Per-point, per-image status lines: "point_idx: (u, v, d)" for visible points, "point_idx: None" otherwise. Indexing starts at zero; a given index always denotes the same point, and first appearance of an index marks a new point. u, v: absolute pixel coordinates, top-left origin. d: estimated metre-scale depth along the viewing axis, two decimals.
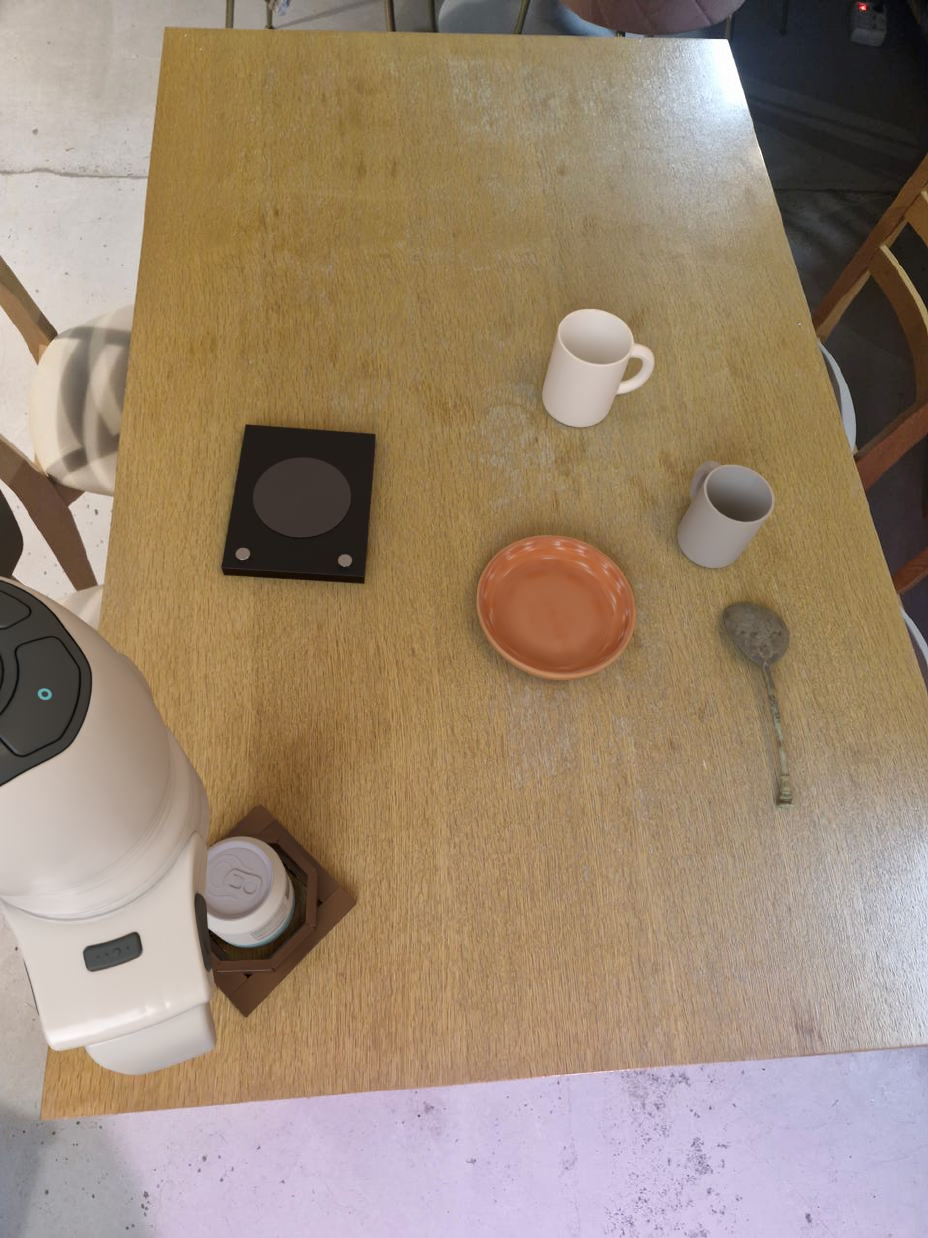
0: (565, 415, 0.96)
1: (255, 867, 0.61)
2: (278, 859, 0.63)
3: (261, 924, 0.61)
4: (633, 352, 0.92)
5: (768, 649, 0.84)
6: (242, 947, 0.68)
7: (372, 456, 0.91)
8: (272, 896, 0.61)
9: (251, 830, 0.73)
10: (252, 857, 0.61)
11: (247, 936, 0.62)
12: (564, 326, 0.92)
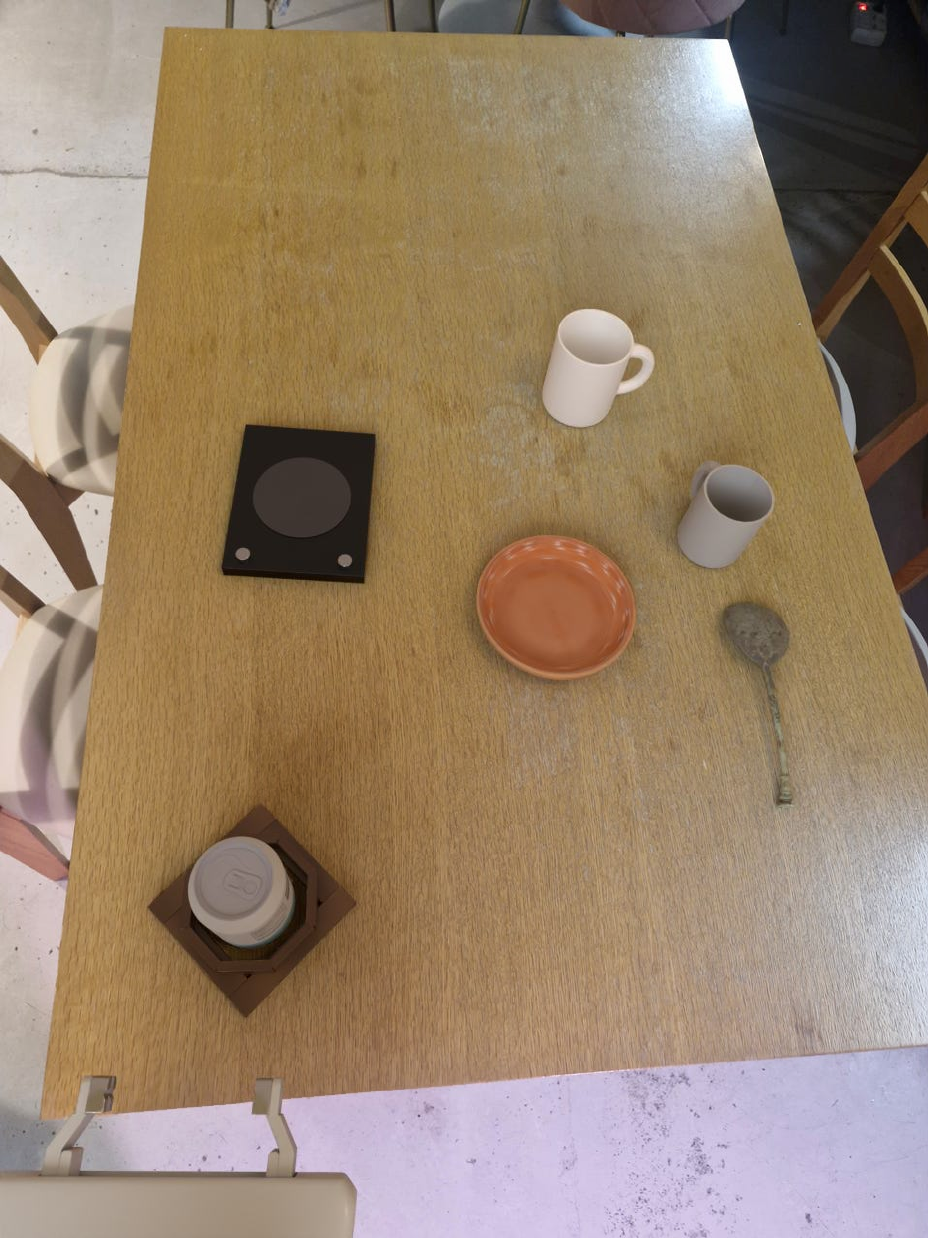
0: (565, 415, 0.96)
1: (255, 867, 0.61)
2: (278, 859, 0.63)
3: (261, 924, 0.61)
4: (633, 352, 0.92)
5: (768, 649, 0.84)
6: (242, 947, 0.68)
7: (372, 456, 0.91)
8: (272, 896, 0.61)
9: (251, 830, 0.73)
10: (252, 857, 0.61)
11: (247, 936, 0.62)
12: (564, 326, 0.92)
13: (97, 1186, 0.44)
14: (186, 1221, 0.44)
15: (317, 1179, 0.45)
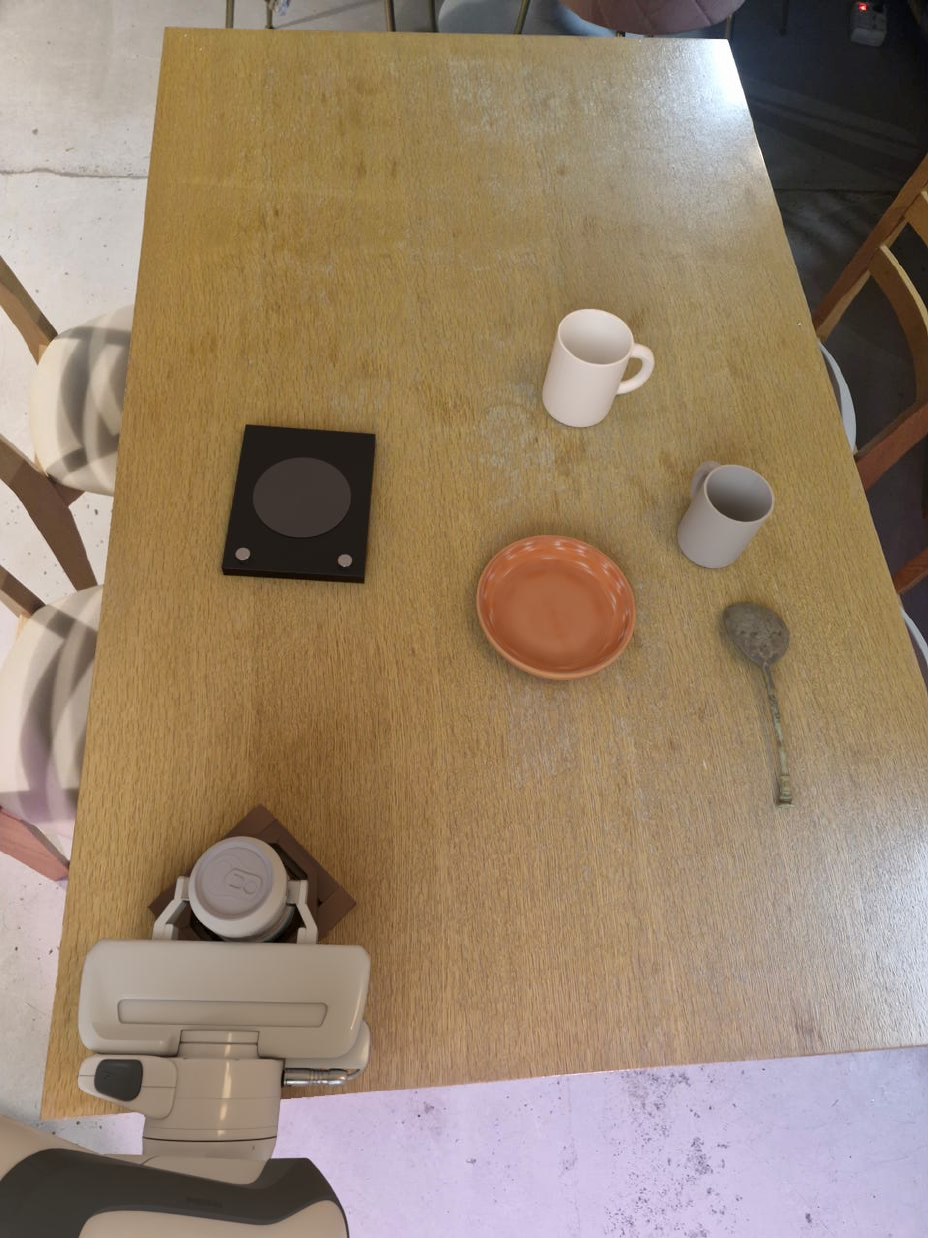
0: (565, 415, 0.96)
1: (255, 867, 0.61)
2: (278, 859, 0.63)
3: (261, 924, 0.61)
4: (633, 352, 0.92)
5: (768, 649, 0.84)
6: None
7: (372, 456, 0.91)
8: (272, 896, 0.61)
9: (251, 830, 0.73)
10: (252, 857, 0.61)
11: (247, 936, 0.62)
12: (564, 326, 0.92)
13: (183, 945, 0.61)
14: (248, 969, 0.60)
15: (342, 945, 0.62)
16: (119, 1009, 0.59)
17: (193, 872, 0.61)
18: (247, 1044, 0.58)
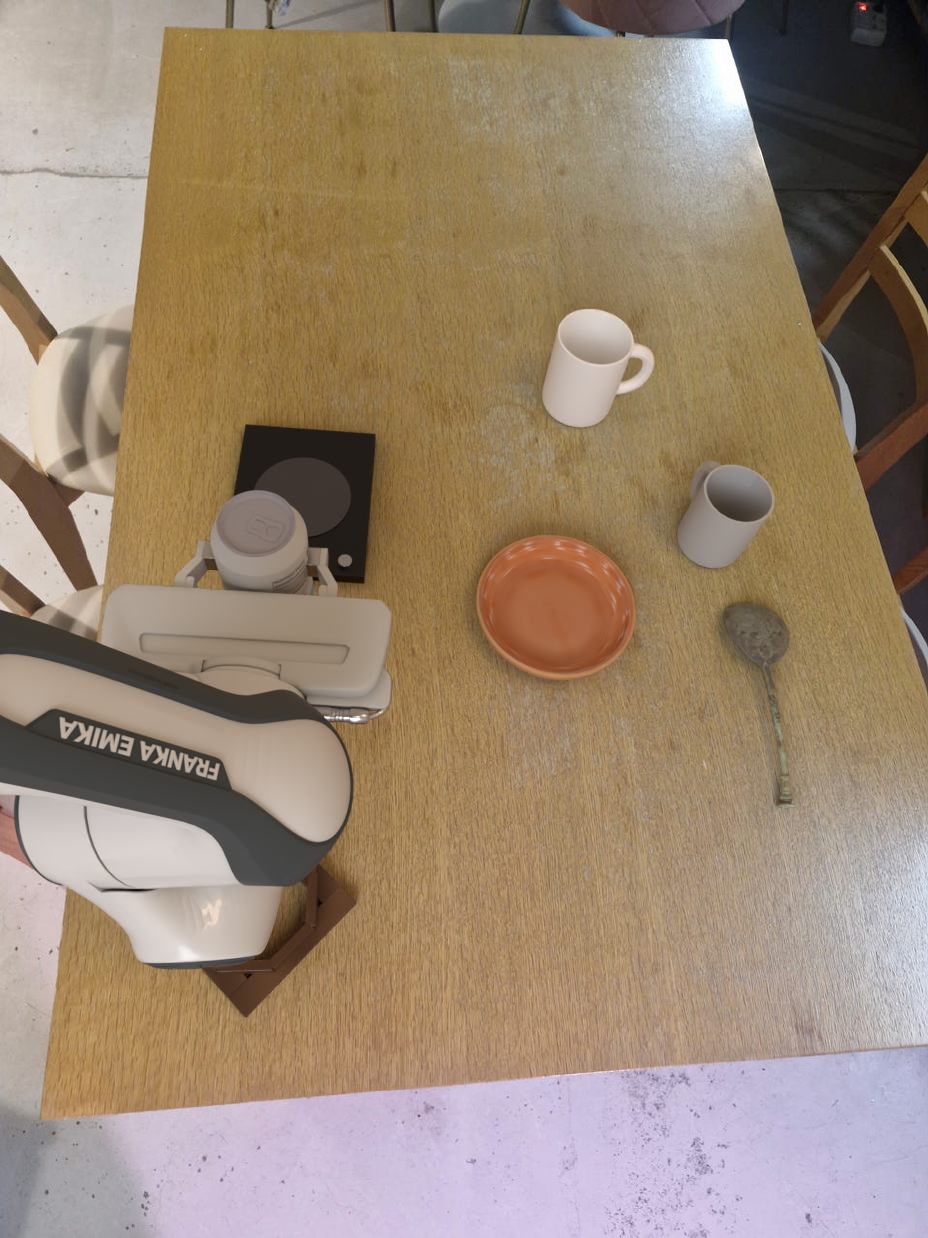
0: (565, 415, 0.96)
1: (277, 515, 0.61)
2: (300, 515, 0.63)
3: (283, 569, 0.61)
4: (633, 352, 0.92)
5: (768, 649, 0.84)
6: None
7: (372, 456, 0.91)
8: (294, 541, 0.61)
9: None
10: (274, 507, 0.61)
11: (268, 590, 0.62)
12: (564, 326, 0.92)
13: (205, 590, 0.61)
14: (270, 612, 0.60)
15: None
16: (141, 642, 0.59)
17: (215, 521, 0.61)
18: (269, 671, 0.58)
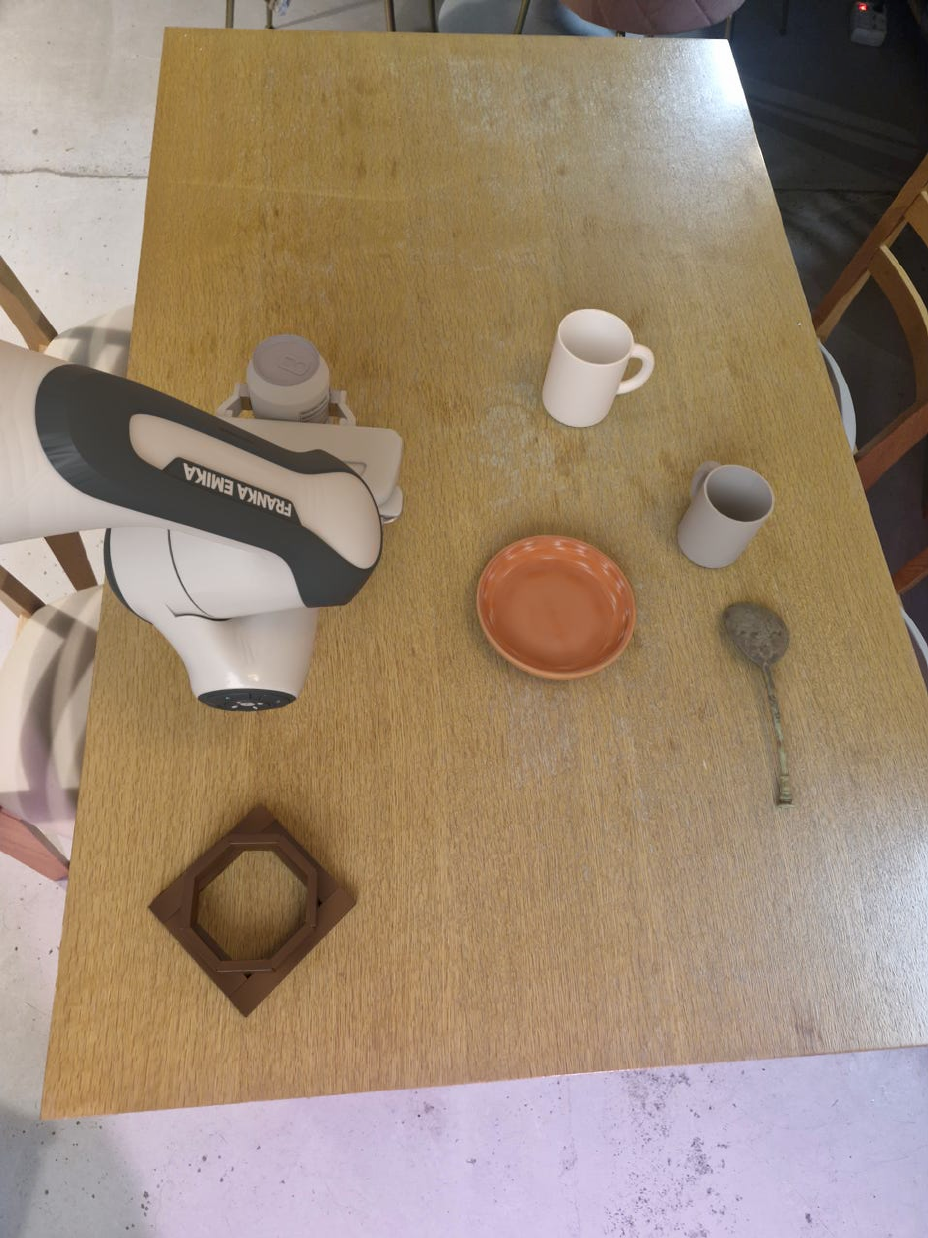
0: (565, 415, 0.96)
1: (304, 354, 0.71)
2: (322, 357, 0.73)
3: (309, 400, 0.71)
4: (633, 352, 0.92)
5: (768, 649, 0.84)
6: None
7: None
8: (319, 375, 0.71)
9: (251, 830, 0.73)
10: (301, 348, 0.72)
11: (296, 421, 0.72)
12: (564, 326, 0.92)
13: (242, 419, 0.71)
14: (298, 436, 0.71)
15: (378, 428, 0.72)
16: None
17: None
18: None
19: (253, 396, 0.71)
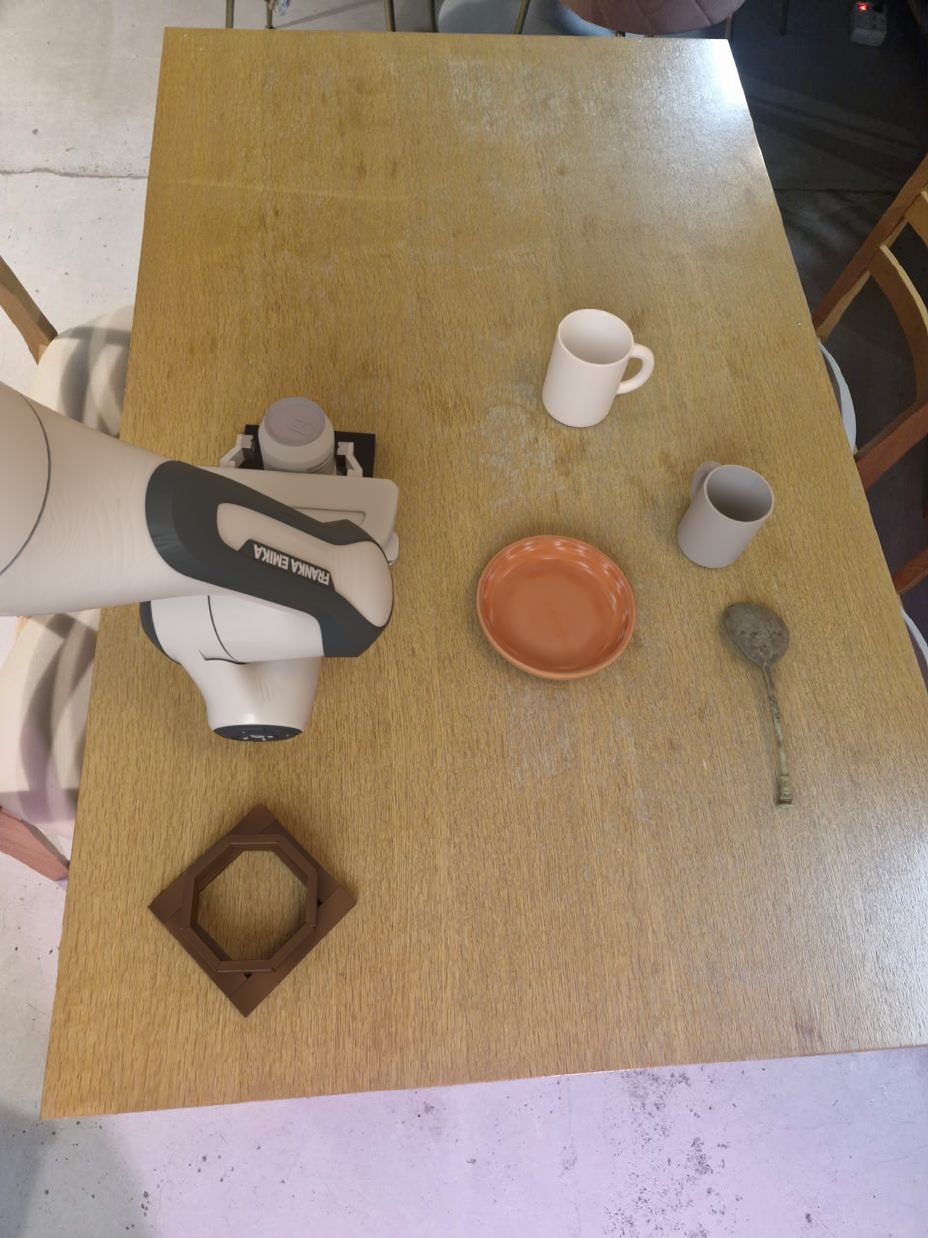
0: (565, 415, 0.96)
1: (311, 416, 0.78)
2: None
3: (316, 458, 0.78)
4: (633, 352, 0.92)
5: (768, 649, 0.84)
6: None
7: (372, 456, 0.91)
8: (324, 435, 0.78)
9: (251, 830, 0.73)
10: (308, 410, 0.78)
11: None
12: (564, 326, 0.92)
13: (252, 470, 0.77)
14: (303, 487, 0.77)
15: (376, 478, 0.79)
16: None
17: (262, 421, 0.78)
18: None
19: (264, 454, 0.78)
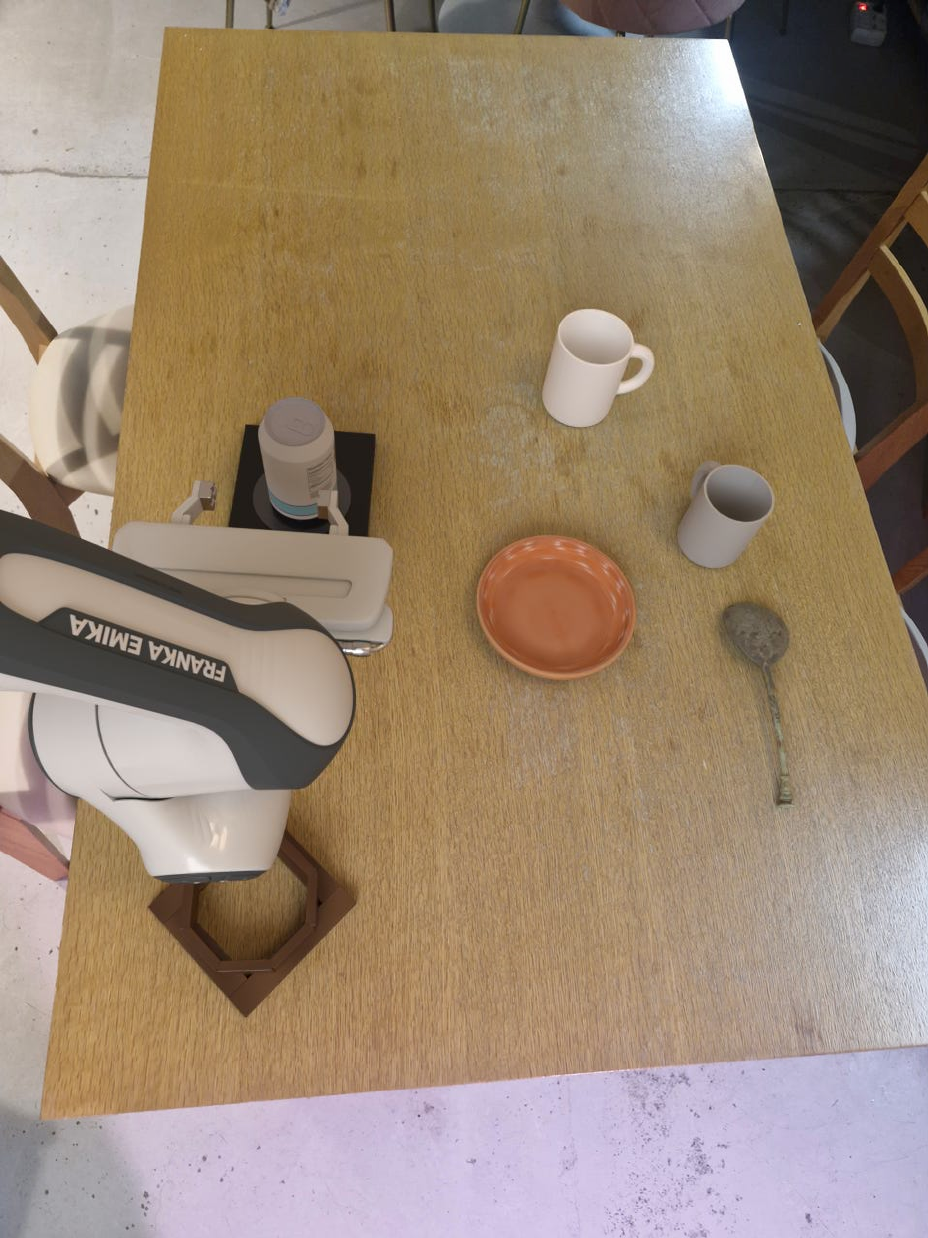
0: (565, 415, 0.96)
1: (311, 416, 0.78)
2: None
3: (316, 458, 0.78)
4: (633, 352, 0.92)
5: (768, 649, 0.84)
6: (296, 515, 0.85)
7: (372, 456, 0.91)
8: (324, 435, 0.78)
9: None
10: (308, 410, 0.78)
11: (304, 476, 0.79)
12: (564, 326, 0.92)
13: (211, 528, 0.62)
14: (274, 549, 0.62)
15: (365, 537, 0.64)
16: None
17: (262, 421, 0.78)
18: None
19: (264, 454, 0.78)
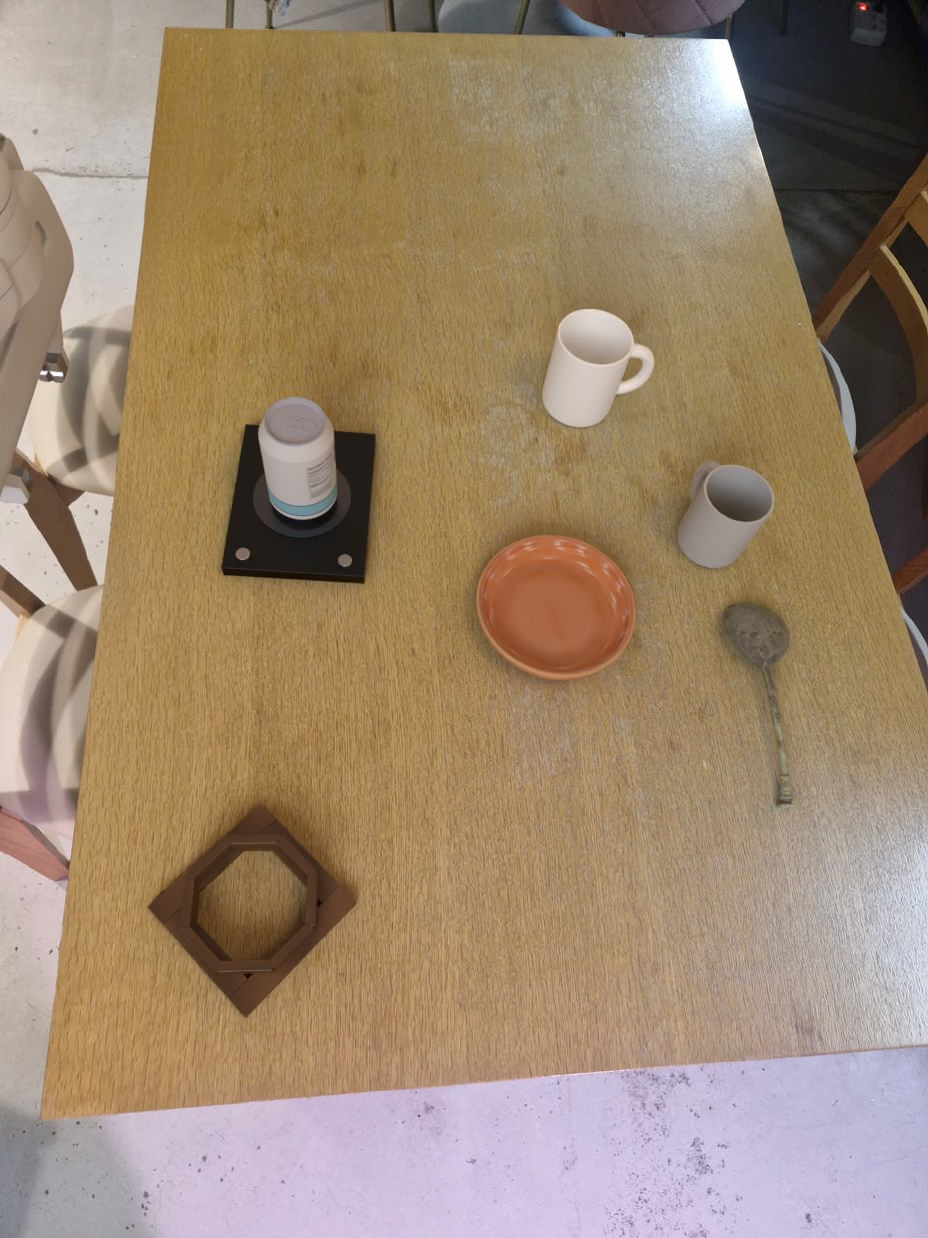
0: (565, 415, 0.96)
1: (311, 416, 0.78)
2: None
3: (316, 458, 0.78)
4: (633, 352, 0.92)
5: (768, 649, 0.84)
6: (296, 515, 0.85)
7: (372, 456, 0.91)
8: (324, 435, 0.78)
9: (251, 830, 0.73)
10: (308, 410, 0.78)
11: (304, 476, 0.79)
12: (564, 326, 0.92)
13: None
14: None
15: None
16: None
17: (262, 421, 0.78)
18: None
19: (264, 454, 0.78)
